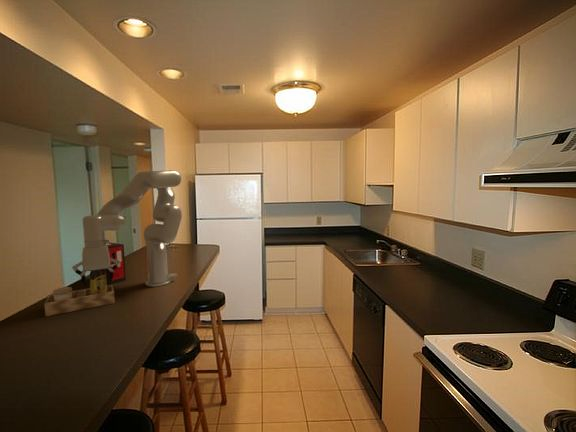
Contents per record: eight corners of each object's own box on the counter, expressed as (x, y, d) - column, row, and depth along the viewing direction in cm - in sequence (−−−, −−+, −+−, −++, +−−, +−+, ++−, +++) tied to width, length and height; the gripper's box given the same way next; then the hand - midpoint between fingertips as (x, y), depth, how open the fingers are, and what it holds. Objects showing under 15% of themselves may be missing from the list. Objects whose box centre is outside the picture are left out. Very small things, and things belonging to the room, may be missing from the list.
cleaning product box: (125, 280, 162) (123, 244, 160) (109, 285, 154) (107, 247, 152) (107, 276, 170) (105, 241, 168) (91, 280, 162) (88, 244, 160)
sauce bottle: (99, 304, 127) (96, 259, 125) (87, 303, 128) (83, 258, 127) (111, 298, 133) (108, 255, 132) (99, 298, 135) (96, 255, 133)
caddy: (113, 296, 138) (112, 284, 138) (114, 304, 129) (114, 291, 129) (49, 308, 126) (47, 295, 125) (45, 318, 116) (44, 304, 116)
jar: (74, 303, 128) (72, 285, 127) (73, 308, 123) (71, 290, 122) (55, 307, 125) (53, 288, 124) (53, 312, 120) (52, 293, 119)
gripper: (117, 240, 136) (119, 276, 138) (71, 244, 126) (74, 283, 128) (118, 243, 130) (121, 280, 131) (69, 247, 120) (73, 288, 122)
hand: (98, 282), depth 130 cm, fingers open, 9 cm apart
